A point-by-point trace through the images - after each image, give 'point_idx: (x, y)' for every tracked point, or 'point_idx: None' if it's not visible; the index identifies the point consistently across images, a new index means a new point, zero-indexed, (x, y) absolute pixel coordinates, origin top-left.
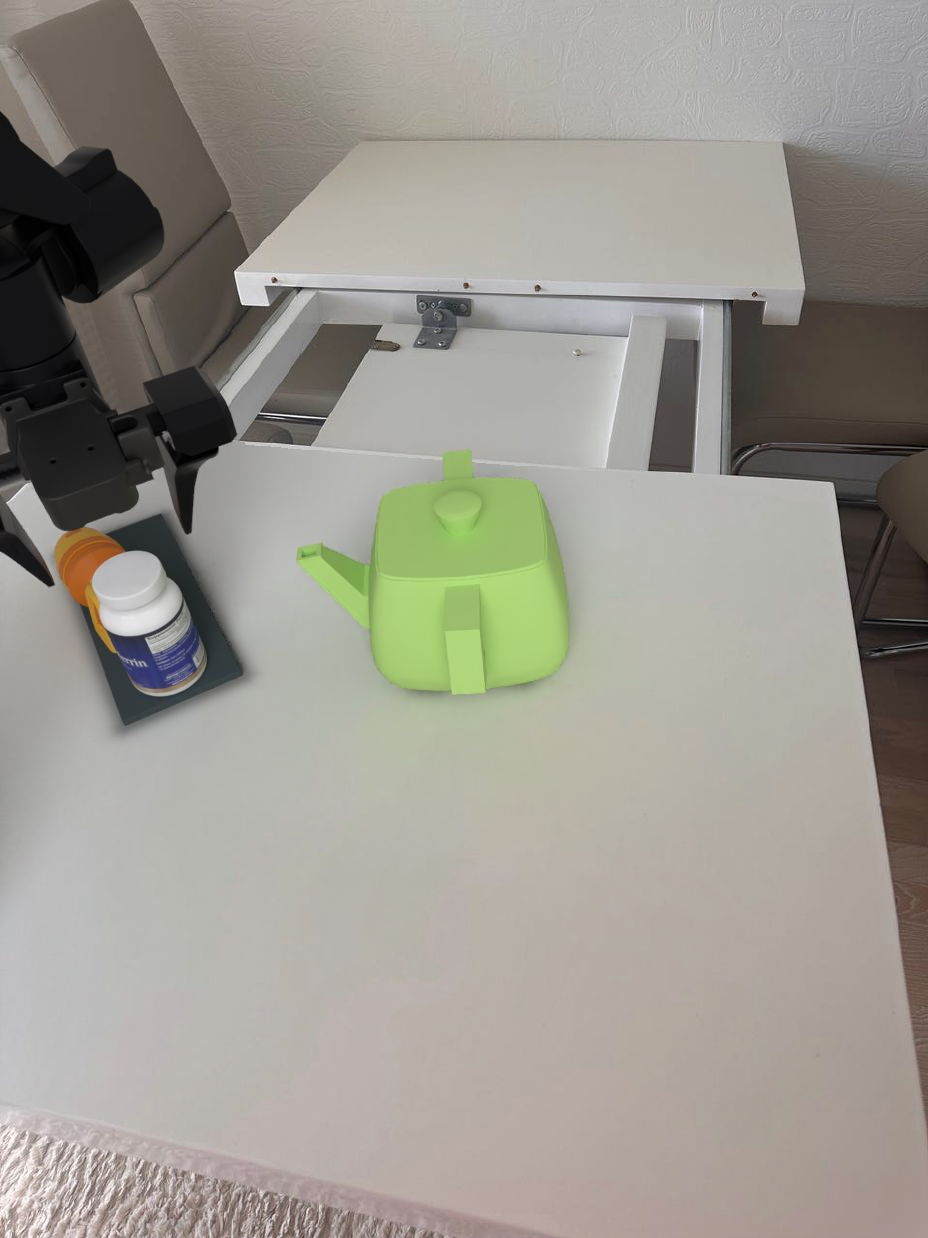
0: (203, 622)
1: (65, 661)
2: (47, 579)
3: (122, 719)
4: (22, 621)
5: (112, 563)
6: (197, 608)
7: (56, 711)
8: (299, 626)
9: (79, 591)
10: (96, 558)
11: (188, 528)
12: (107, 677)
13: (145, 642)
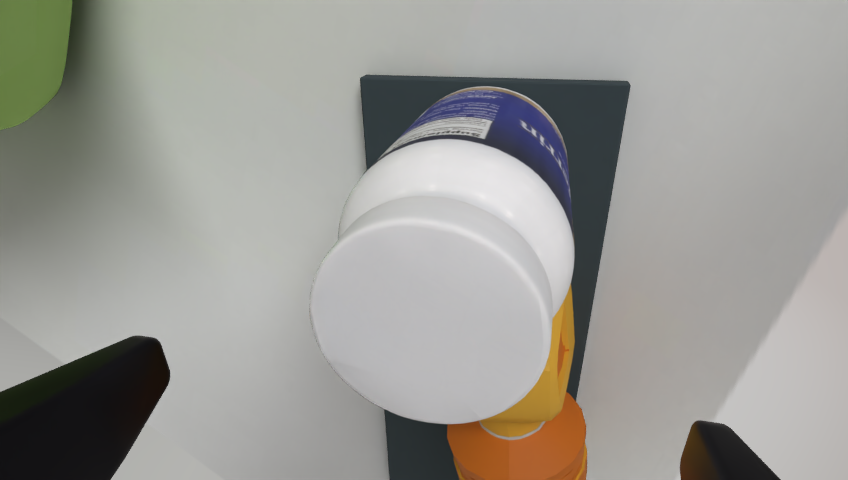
0: None
1: (653, 315)
2: (733, 459)
3: (627, 89)
4: (676, 438)
5: (452, 400)
6: None
7: (731, 209)
8: (241, 134)
9: (568, 423)
10: (505, 465)
11: (116, 349)
12: (604, 222)
13: (490, 134)
